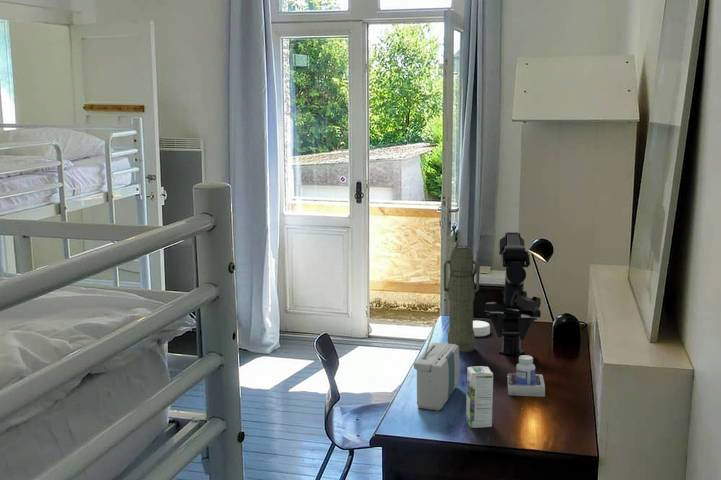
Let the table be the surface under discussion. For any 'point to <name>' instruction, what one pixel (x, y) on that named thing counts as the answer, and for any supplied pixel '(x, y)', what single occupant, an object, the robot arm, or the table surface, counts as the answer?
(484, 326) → the white round tub
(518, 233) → the robot arm
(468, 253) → the thermos
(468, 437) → the table surface
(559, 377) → the table surface
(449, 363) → the stereo radio cassette player
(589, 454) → the table surface
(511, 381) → the housing
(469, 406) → the syrup box
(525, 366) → the pill bottle
